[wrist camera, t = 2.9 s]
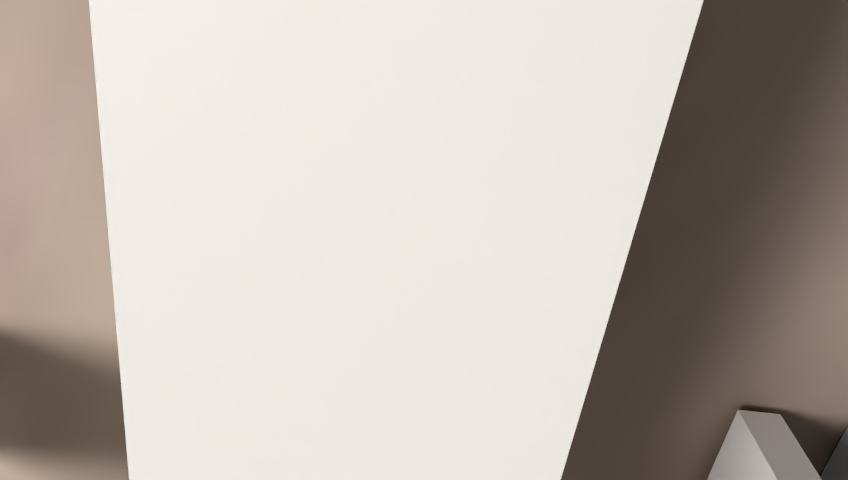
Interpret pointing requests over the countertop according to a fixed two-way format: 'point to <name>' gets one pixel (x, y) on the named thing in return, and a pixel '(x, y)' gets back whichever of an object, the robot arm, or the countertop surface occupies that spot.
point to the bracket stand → (838, 461)
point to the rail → (372, 225)
